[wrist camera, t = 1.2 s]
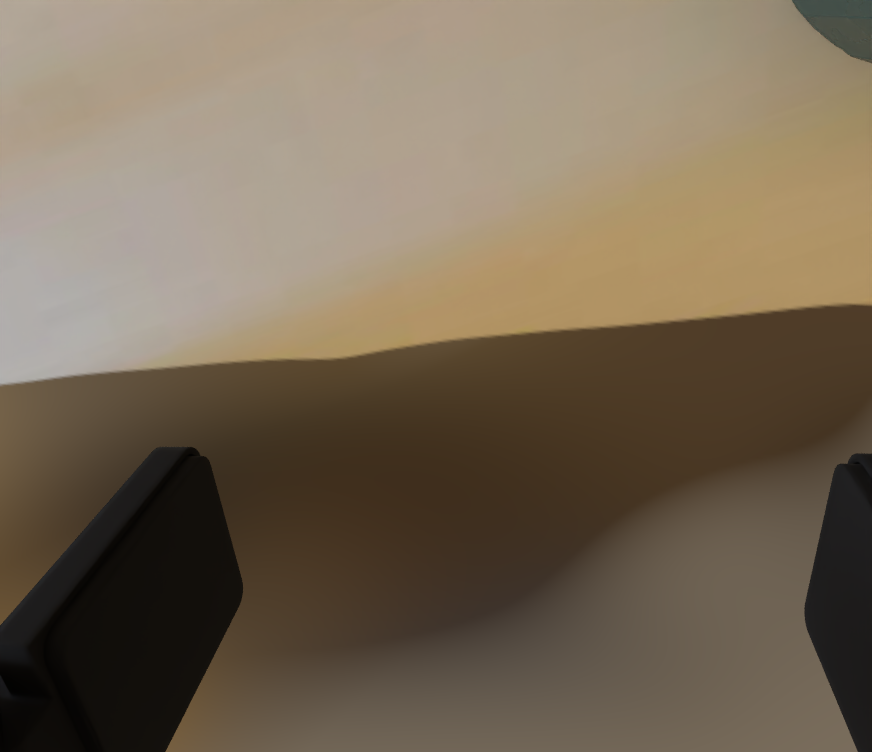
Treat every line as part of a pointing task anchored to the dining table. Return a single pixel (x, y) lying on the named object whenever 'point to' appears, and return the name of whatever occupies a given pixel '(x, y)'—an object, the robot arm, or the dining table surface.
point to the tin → (842, 23)
